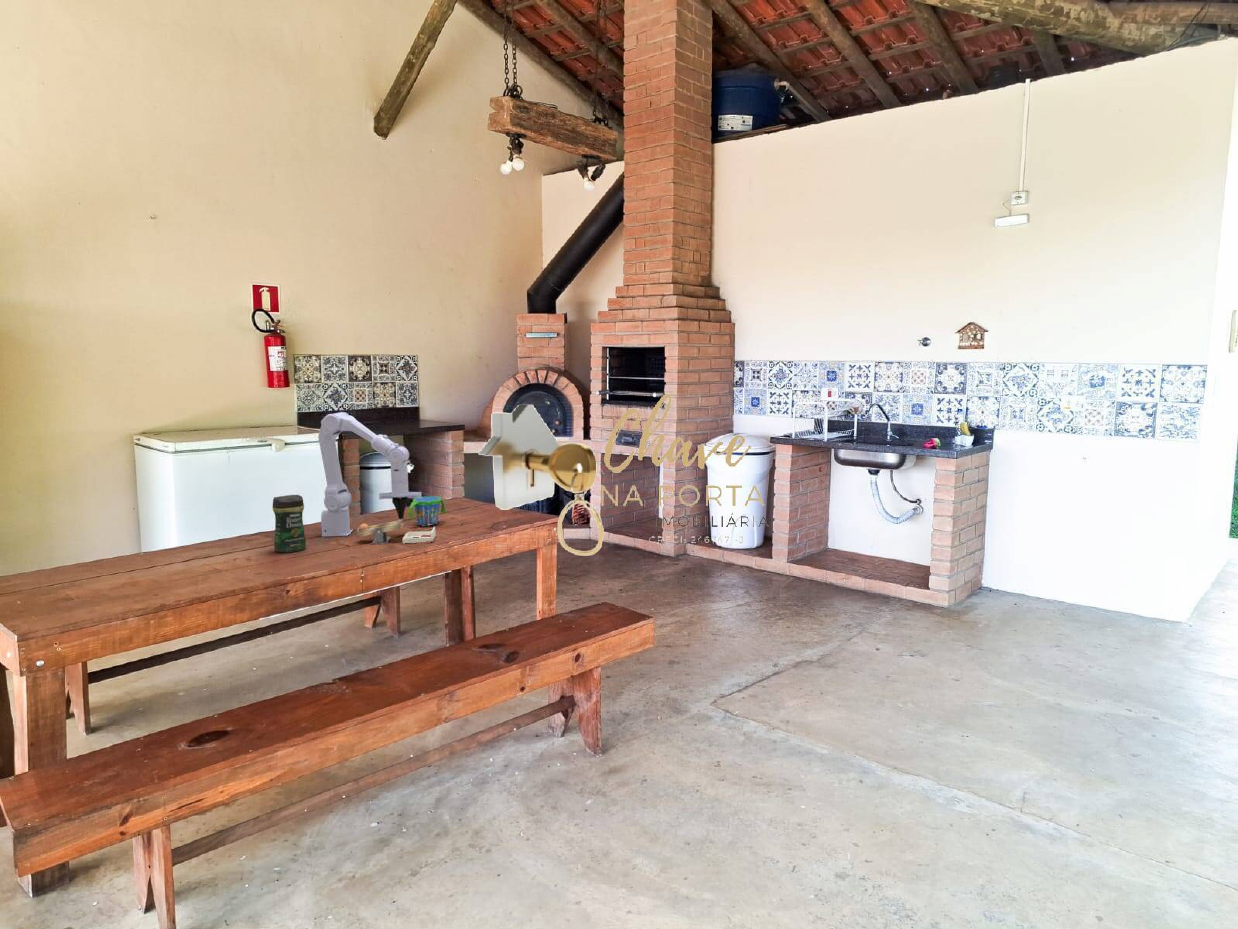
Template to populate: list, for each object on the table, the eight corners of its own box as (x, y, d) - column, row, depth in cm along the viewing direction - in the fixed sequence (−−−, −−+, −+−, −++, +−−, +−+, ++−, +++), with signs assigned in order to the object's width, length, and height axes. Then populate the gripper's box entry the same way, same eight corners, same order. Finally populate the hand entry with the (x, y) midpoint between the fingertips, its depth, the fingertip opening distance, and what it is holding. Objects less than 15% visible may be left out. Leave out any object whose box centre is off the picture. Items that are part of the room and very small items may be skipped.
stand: (371, 544, 276) (371, 530, 276) (376, 538, 285) (375, 524, 284) (386, 543, 277) (386, 529, 276) (390, 538, 286) (390, 524, 285)
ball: (359, 533, 278) (358, 525, 278) (361, 531, 281) (359, 523, 281) (368, 532, 279) (366, 523, 278) (370, 530, 281) (368, 521, 281)
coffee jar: (280, 554, 263) (277, 499, 260) (271, 550, 269) (268, 495, 266) (310, 549, 269) (306, 495, 267) (300, 545, 275) (297, 492, 272)
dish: (402, 543, 277) (402, 534, 276) (406, 537, 287) (406, 527, 286) (432, 543, 278) (431, 533, 278) (435, 536, 288) (435, 526, 287)
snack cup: (438, 519, 316) (437, 494, 315) (452, 523, 309) (452, 497, 307) (402, 525, 305) (401, 499, 304) (416, 530, 298) (415, 503, 296)
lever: (357, 537, 277) (356, 530, 277) (365, 529, 290) (363, 522, 289) (401, 528, 278) (400, 522, 278) (406, 520, 291) (405, 514, 291)
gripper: (376, 483, 281) (378, 521, 283) (419, 482, 283) (420, 520, 285) (380, 479, 288) (381, 517, 290) (421, 479, 290) (422, 516, 292)
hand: (401, 518), depth 288 cm, fingers closed
